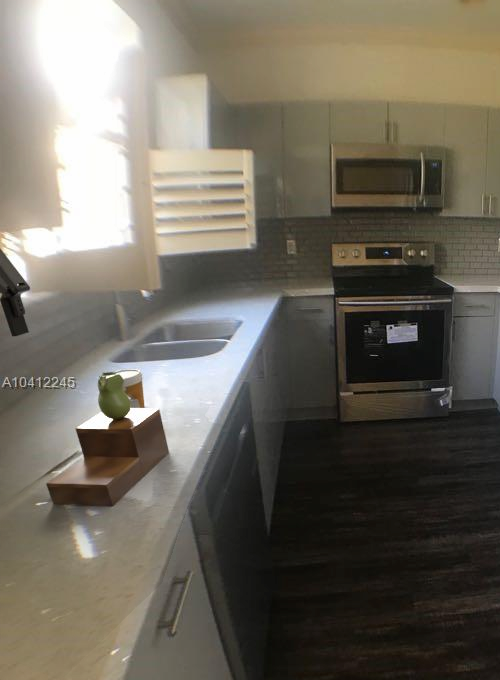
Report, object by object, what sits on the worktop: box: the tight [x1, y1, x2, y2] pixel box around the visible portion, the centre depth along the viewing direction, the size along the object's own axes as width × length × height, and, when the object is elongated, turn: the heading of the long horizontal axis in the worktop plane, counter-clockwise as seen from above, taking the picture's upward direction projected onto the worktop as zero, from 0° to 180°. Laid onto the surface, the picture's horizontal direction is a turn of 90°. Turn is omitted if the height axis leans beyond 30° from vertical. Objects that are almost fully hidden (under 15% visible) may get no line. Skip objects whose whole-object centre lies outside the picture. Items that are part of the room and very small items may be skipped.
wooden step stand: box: [45, 407, 170, 507], centre depth 93 cm, size 12×20×11 cm, turn 175°
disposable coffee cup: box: [113, 368, 146, 408], centre depth 121 cm, size 10×10×12 cm
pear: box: [97, 371, 131, 419], centre depth 94 cm, size 6×5×10 cm
